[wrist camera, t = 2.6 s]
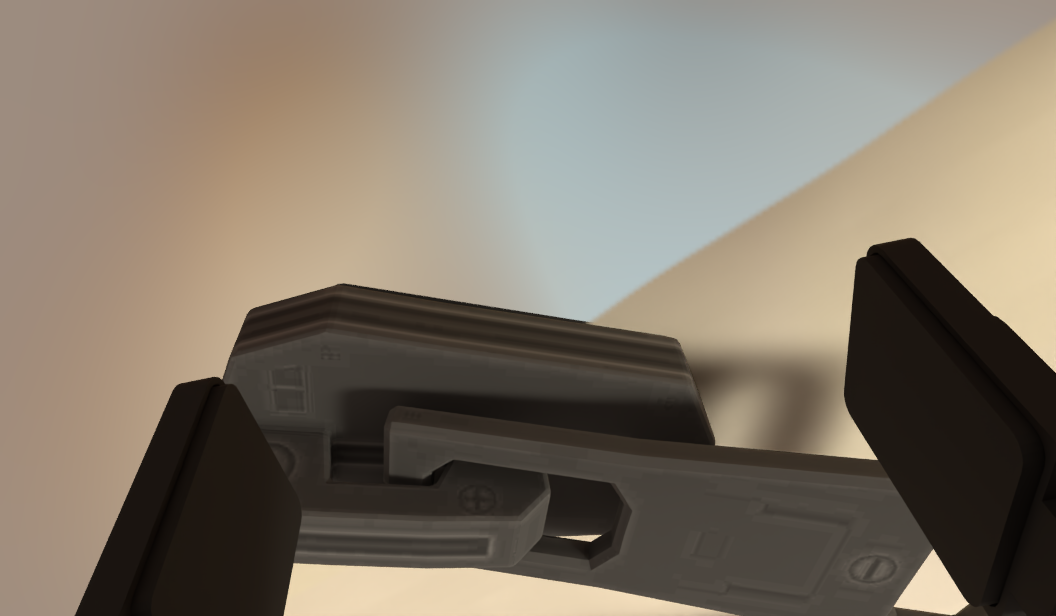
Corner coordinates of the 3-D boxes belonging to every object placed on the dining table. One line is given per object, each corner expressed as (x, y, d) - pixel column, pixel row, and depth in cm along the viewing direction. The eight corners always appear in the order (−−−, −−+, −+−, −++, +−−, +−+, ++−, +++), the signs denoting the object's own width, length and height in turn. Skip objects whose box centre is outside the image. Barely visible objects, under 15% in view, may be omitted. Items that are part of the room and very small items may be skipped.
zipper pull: (1021, 684, 24) (186, 679, 21) (920, 513, 29) (246, 489, 26) (1204, 496, 18) (124, 453, 16) (1040, 329, 24) (214, 274, 21)
